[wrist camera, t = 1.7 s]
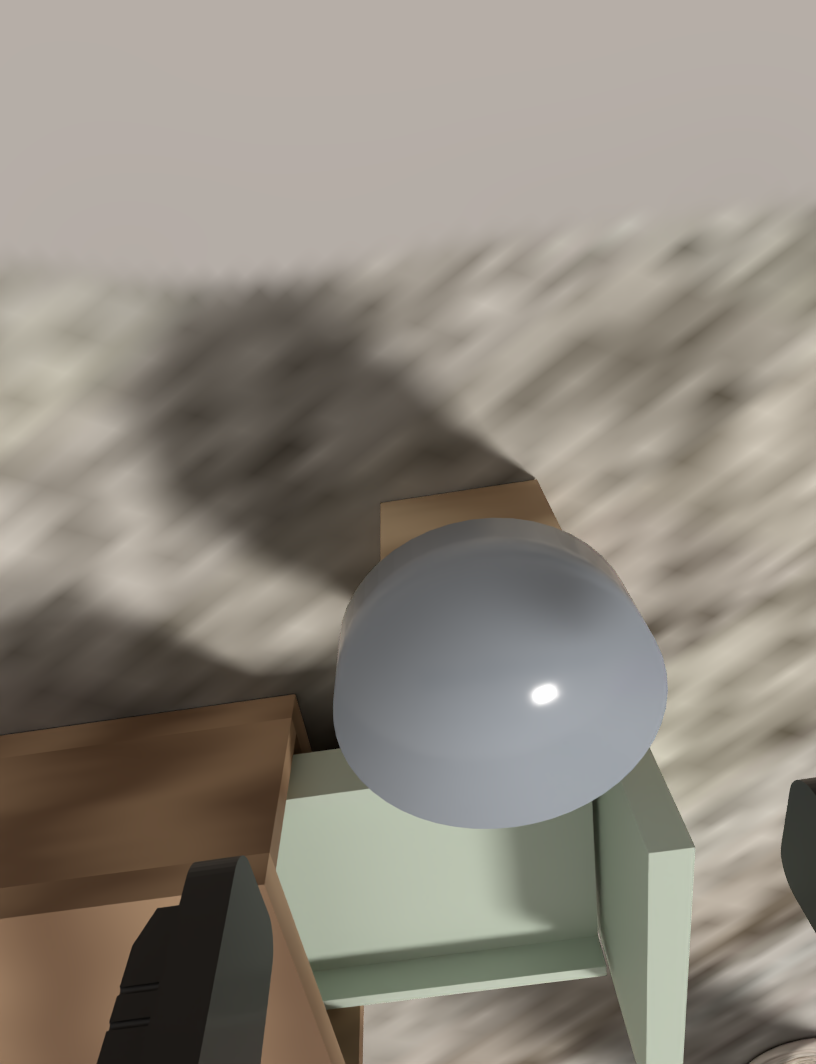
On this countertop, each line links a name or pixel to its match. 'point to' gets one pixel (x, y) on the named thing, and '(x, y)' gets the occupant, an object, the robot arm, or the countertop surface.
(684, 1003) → the tray
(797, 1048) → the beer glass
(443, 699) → the grey round dome
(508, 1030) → the countertop surface
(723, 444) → the countertop surface
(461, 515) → the oak block
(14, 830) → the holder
